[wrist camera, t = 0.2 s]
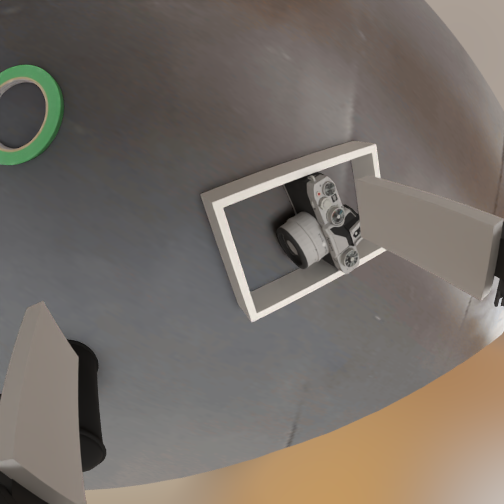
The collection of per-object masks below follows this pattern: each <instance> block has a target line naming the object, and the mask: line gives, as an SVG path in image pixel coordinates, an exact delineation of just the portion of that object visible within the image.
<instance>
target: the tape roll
mask: <svg viewBox="0 0 504 504" xmlns="http://www.w3.org/2000/svg"><path fill="white" fill-rule="evenodd" d="M23 82H29V83H34V84H36V85H37V86H38V87H39V88H40V89H41V90H42V92H43V95H44V98H45V101H46V114H45V118H44V122H43V124H42V126H41V128H40V130H39V132H38V133H37V135H36V136H35V137H34V138H33V139H32V140H31V141H30V142H29V143H27V144H26V145H24V146H22V147H20V148H17V149H13V148H9V147H6V146H4V145H3V144H2V143H0V164H2V165H16V164H20V163H24V162H27V161H29V160H32V159H34V158H35V157H37V156H39V155H40V154H41V153H42V152H44V151H45V150H46V149H47V147H48V146H49V145H50V144H51V143H52V141H53V140H54V138H55V136H56V135H57V133H58V131H59V128H60V126H61V122H62V118H63V113H64V101H63V95H62V92H61V89H60V87H59V85H58V83H57V82H56V80H55V79H54V78H53V77H52V76H51V75H50V74H49V73H47V72H46V71H45V70H43V69H41V68H39V67H37V66H33V65H18V66H14V67H11V68H8V69H6V70H5V71H3V72H1V73H0V97H1V95H2V94H3V93H4V92H5V91H6V90H7V89H9V88H10V87H12V86H14V85H16V84H18V83H23Z"/></svg>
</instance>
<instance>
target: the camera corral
mask: <svg viewBox="0 0 504 504" xmlns="http://www.w3.org/2000/svg"><path fill="white" fill-rule="evenodd" d="M349 160H351V164H352V170H353V176H354V183H355V190H356V197H357V205H358V196H357V186H356V179H358V178H361V177H364V176H367V175H370V176H374V177H378V178H380V170H379V162H378V155H377V148H376V144H373V143H366V142H358V141H350V142H347V143H344V144H341V145H337V146H334V147H331V148H328V149H325V150H322V151H319V152H315V153H312V154H309V155H306V156H303V157H300V158H297V159H294V160H291V161H288V162H286V163H283V164H280V165H277V166H274V167H271V168H268V169H266V170H263V171H260V172H257V173H254V174H252V175H249V176H246V177H243V178H241V179H238V180H235V181H233V182H230V183H227V184H225V185H222V186H220V187H217V188H214V189H212V190H209V191H207V192H204V193H202V194H200V195H201V198H202V201H203V204H204V207H205V210H206V213H207V216H208V219H209V222H210V225H211V228H212V231H213V234H214V237H215V240H216V243H217V246H218V249H219V252H220V255H221V257H222V260H223V263H224V266H225V269H226V272H227V275H228V277H229V280H230V283H231V286H232V289H233V292H234V294H235V297H236V300H237V303H238V305H239V306H240V308H241V309H242V310H243V311H244V313H245V314H246V315H247V317H248V318H249V319H250V321H251V322H253V321H256V320H258V319H260V318H262V317H264V316H266V315H268V314H270V313H271V312H273V311H275V310H277V309H279V308H281V307H283V306H285V305H287V304H289V303H291V302H293V301H295V300H297V299H299V298H301V297H303V296H304V295H306V294H308V293H310V292H312V291H314V290H316V289H318V288H320V287H321V286H323V285H325V284H327V283H329V282H331V281H333V280H334V279H336V278H338V277H340V276H342V275H343V274H345V273H343V272H342V271H340V270H338V269H337V268H335V267H334V266H332V265H331V264H329V263H327V262H326V261H324V260H323V259H321V260H320V261H318V262H314V263H313V264H312V265H310V266H309V267H307V268H306V269H301V268H299V269H297V270H295V271H293V272H291V273H289V274H287V275H285V276H283V277H281V278H279V279H277V280H274V281H272V282H270V283H268V284H266V285H264V286H262V287H260V288H258V289H256V290H254V291H252V292H250V291H249V288H248V285H247V282H246V279H245V275H244V272H243V269H242V266H241V263H240V260H239V257H238V254H237V250H236V247H235V244H234V241H233V238H232V235H231V231H230V228H229V225H228V222H227V219H226V216H225V212H224V209H223V208H224V207H226V206H228V205H231V204H233V203H236V202H238V201H241V200H244V199H246V198H249V197H251V196H254V195H256V194H259V193H261V192H264V191H267V190H269V189H272V188H274V187H277V186H280V185H282V184H285V183H288V182H290V181H293V180H296V179H298V178H301V177H304V176H307V175H309V174H312V173H315V172H318V171H320V170H323V169H326V168H329V167H332V166H334V165H337V164H340V163H343V162H346V161H349ZM358 213H359V206H358ZM356 249H357V251H358V254H359V265H358V266H360V265H361V264H363V263H365V262H367V261H368V260H370V259H372V258H374V257H375V256H377V255H379V254H381V253H382V252H384V251H386V249H384V248H382V247H380V246H378V245H376V244H374V243H372V242H370V241H368V240H366V239H364V238H363V239H362V240H361V241H360V242H359V243H358V244H357V246H356ZM358 266H357V267H358Z"/></svg>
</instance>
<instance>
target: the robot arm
mask: <svg viewBox="0 0 504 504" xmlns="http://www.w3.org/2000/svg"><path fill="white" fill-rule="evenodd" d="M356 186H357V196H358V206H359V217H360V230H361V237H362V238H364V239H366V240H368V241H370V242H372V243H374V244H376V245H378V246H380V247H382V248H384V249H386V250H388V251H390V252H392V253H394V254H396V255H398V256H400V257H402V258H404V259H405V260H407V261H409V262H411V263H413V264H415V265H417V266H419V267H421V268H422V269H424V270H426V271H428V272H430V273H432V274H434V275H435V276H437V277H439V278H441V279H443V280H445V281H446V282H448V283H450V284H452V285H454V286H455V287H457V288H459V289H461V290H462V291H464V292H466V293H468V294H469V295H471V296H473V297H475V298H476V299H478V300H480V301H482V300H483V299H484V298H485V297H486V296H487V295H488V294H489V293H490V292H491V289H492V284H493V280H494V276H496V277H498V278H500V280H499V285H498V289H497V293H496V297H495V301H494V304H495V307H497V306H498V302H499V299H500V298H502V297H503V298H502V302H501V306H504V222H503V218H500V217H498V216H495V215H492V214H490V213H487V212H484V211H482V210H479V209H476V208H473V207H471V206H468V205H465V204H462V203H459V202H456V201H453V200H450V199H447V198H444V197H441V196H438V195H435V194H432V193H429V192H426V191H422V190H419V189H416V188H413V187H409V186H406V185H402V184H399V183H396V182H392V181H388V180H385V179H381V178H378V177H374V176H370V175H367V176H364V177H361V178H358V179H356ZM78 361H79V357H78V356H77V354H76V353H75V351H74V350H73V348H72V347H71V345H70V344H69V342H68V341H67V339H66V338H65V336H64V335H63V333H62V332H61V330H60V328H59V327H58V325H57V324H56V322H55V320H54V319H53V317H52V315H51V314H50V312H49V310H48V309H47V307H46V305H45V303H44V302H43V301H42V302H39V303H37V304H35V305H33V306H30V307H28V308H27V309H26V312H25V315H24V318H23V321H22V324H21V327H20V330H19V333H18V336H17V339H16V342H15V346H14V349H13V352H12V356H11V359H10V363H9V367H8V370H7V374H6V378H5V382H4V387H3V391H2V394H0V504H86V497H85V490H84V482H83V473H82V464H81V453H80V439H79V418H78Z"/></svg>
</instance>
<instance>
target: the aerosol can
mask: <svg viewBox="0 0 504 504" xmlns="http://www.w3.org/2000/svg"><path fill="white" fill-rule="evenodd" d="M67 341H68V342H69V344H70V345H71V347H72V348H73V350H74V351H75V353H76V354H77V356H78V357H79V361H78V418H79V439H80V453H81V464H82V472H85V471H89V470H91V469H93V468H94V467H95V466H97V465H98V464H100V463H101V462H102V461H103V460H104V459H105V456H106V448H105V446H104V444H103V441H102V432H101V423H100V412H99V400H98V385H97V371H98V360H97V358H96V356H95V354H94V353H93V352H92V350H90V349H89V348H88V347H87V346H85V345H84V344H82V343H79V342H76V341H71V340H67Z"/></svg>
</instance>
